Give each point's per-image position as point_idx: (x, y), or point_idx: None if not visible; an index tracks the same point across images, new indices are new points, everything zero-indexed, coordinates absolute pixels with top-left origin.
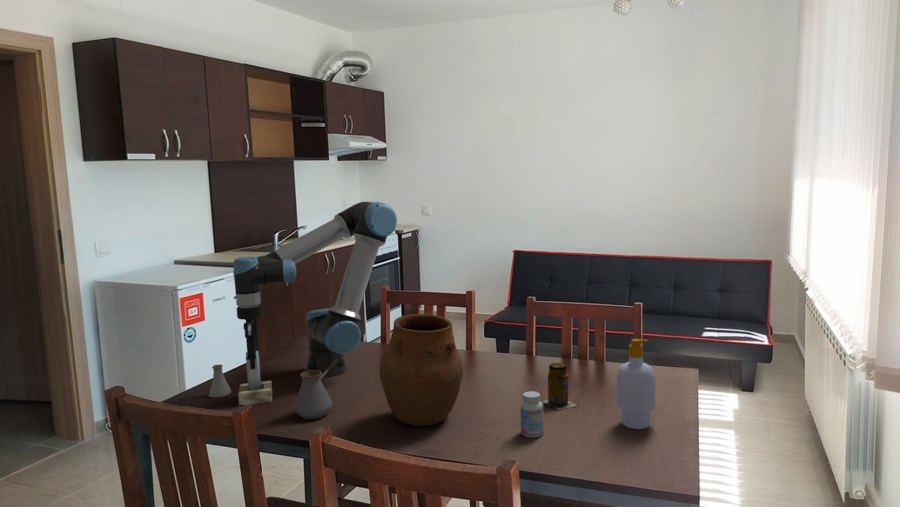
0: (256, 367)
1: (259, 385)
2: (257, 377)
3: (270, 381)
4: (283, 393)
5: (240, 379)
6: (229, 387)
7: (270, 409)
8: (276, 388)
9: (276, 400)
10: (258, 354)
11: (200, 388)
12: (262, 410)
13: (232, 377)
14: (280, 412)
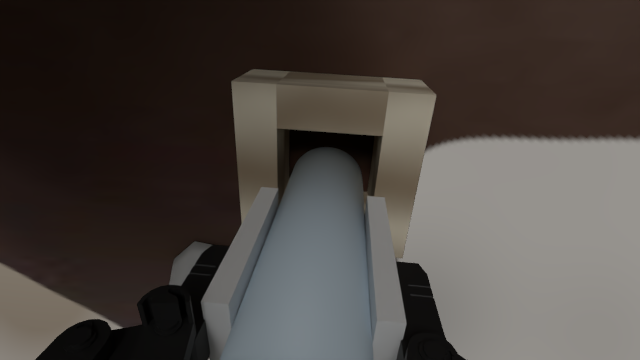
0: (392, 256)
1: (350, 163)
2: (383, 204)
3: (248, 88)
4: (297, 2)
5: (31, 202)
6: (191, 259)
7: (531, 93)
8: (194, 41)
9: (403, 52)
10: (317, 320)
11: (129, 322)
12: (517, 132)
13: (3, 229)
14: (623, 40)
